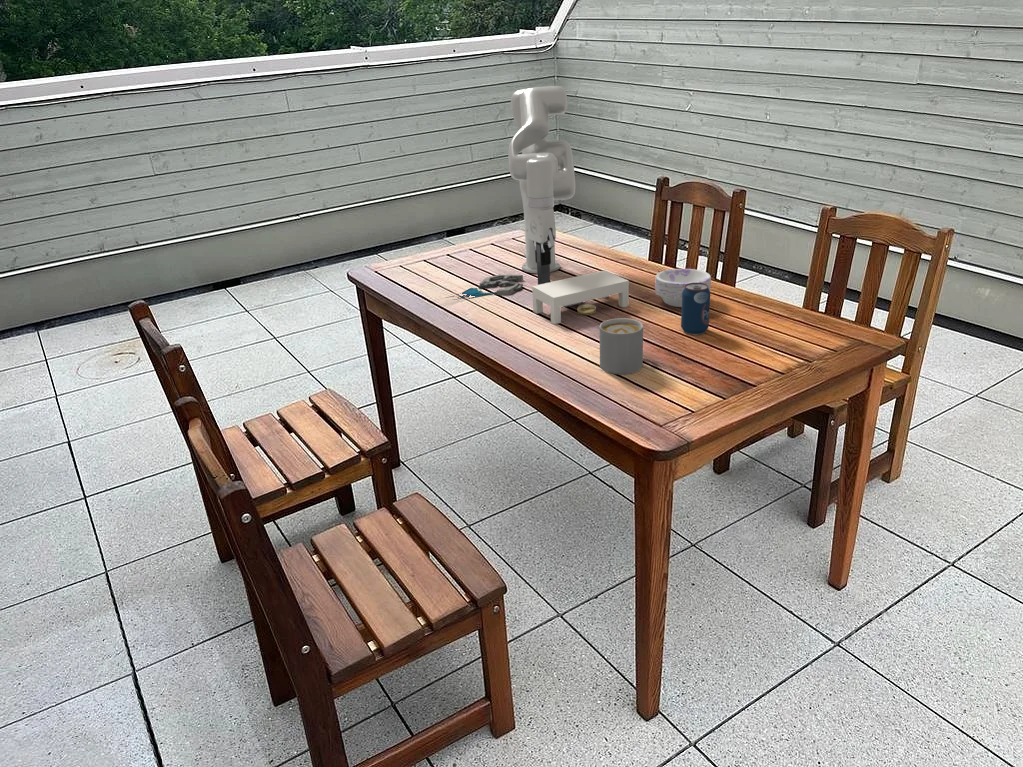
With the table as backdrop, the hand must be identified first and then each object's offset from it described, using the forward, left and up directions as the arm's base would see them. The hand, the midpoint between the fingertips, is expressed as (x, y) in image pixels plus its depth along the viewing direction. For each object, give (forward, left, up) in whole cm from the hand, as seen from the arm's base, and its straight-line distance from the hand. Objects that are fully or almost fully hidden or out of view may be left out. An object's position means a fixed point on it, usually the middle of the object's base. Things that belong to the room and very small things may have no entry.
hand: (543, 262), depth 231 cm
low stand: (+21, 0, -8) cm, 23 cm away
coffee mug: (+59, -11, -9) cm, 61 cm away
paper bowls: (+33, +26, -9) cm, 43 cm away
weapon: (-10, -18, -9) cm, 23 cm away
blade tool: (+8, 0, -8) cm, 12 cm away
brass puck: (+24, 0, -9) cm, 26 cm away
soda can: (+52, +15, -9) cm, 55 cm away
